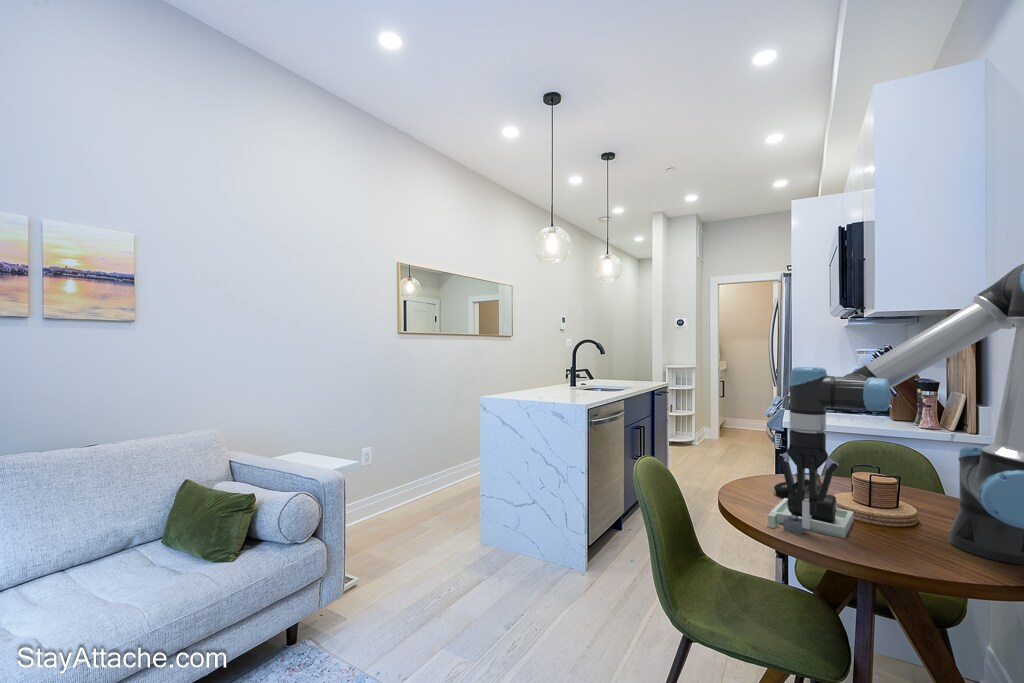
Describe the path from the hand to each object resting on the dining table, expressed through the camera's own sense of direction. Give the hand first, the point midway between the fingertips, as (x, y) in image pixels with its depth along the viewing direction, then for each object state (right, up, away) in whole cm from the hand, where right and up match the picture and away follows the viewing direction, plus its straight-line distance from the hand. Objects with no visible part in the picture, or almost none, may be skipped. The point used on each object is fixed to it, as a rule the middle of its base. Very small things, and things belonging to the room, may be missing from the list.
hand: (806, 526), depth 115 cm
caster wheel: (+15, -2, +28) cm, 32 cm away
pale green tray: (+5, -2, +7) cm, 9 cm away
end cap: (+7, -1, +8) cm, 11 cm away
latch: (-2, -2, +2) cm, 3 cm away
